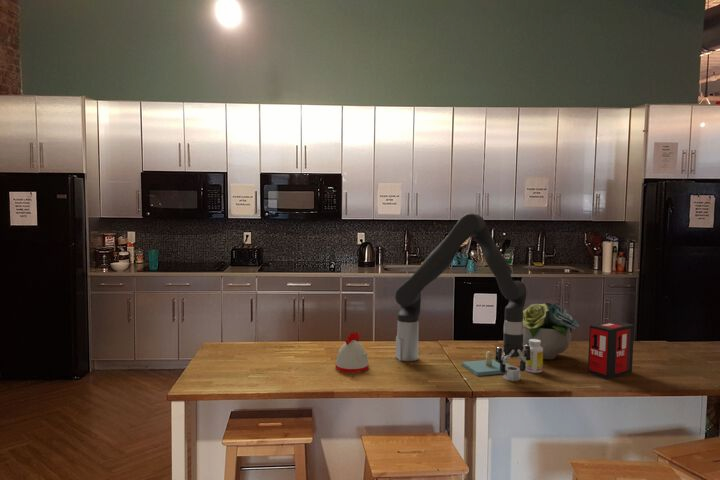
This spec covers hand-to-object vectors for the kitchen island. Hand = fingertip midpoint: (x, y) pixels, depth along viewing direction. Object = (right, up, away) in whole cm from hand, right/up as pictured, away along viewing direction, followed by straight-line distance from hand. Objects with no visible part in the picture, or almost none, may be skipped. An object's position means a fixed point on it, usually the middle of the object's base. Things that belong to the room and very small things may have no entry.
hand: (512, 371), depth 212 cm
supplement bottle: (+12, -2, +10) cm, 15 cm away
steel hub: (0, -3, 0) cm, 3 cm away
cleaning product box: (+42, -3, +8) cm, 43 cm away
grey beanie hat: (-64, -2, +13) cm, 65 cm away
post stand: (-7, -2, +12) cm, 14 cm away
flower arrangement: (+23, -1, +29) cm, 37 cm away
